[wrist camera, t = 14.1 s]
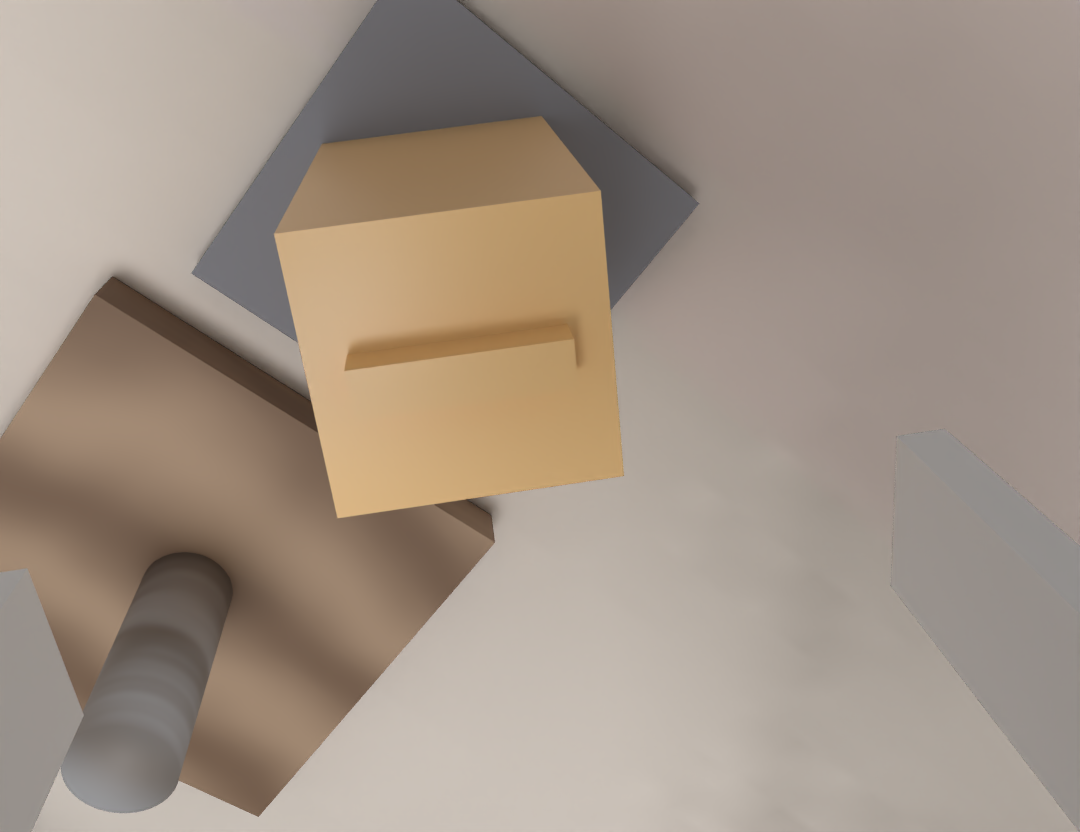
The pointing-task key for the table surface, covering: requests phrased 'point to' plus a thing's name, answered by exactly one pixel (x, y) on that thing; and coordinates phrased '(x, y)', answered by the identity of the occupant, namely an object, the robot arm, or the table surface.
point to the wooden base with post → (204, 561)
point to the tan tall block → (453, 315)
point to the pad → (427, 104)
